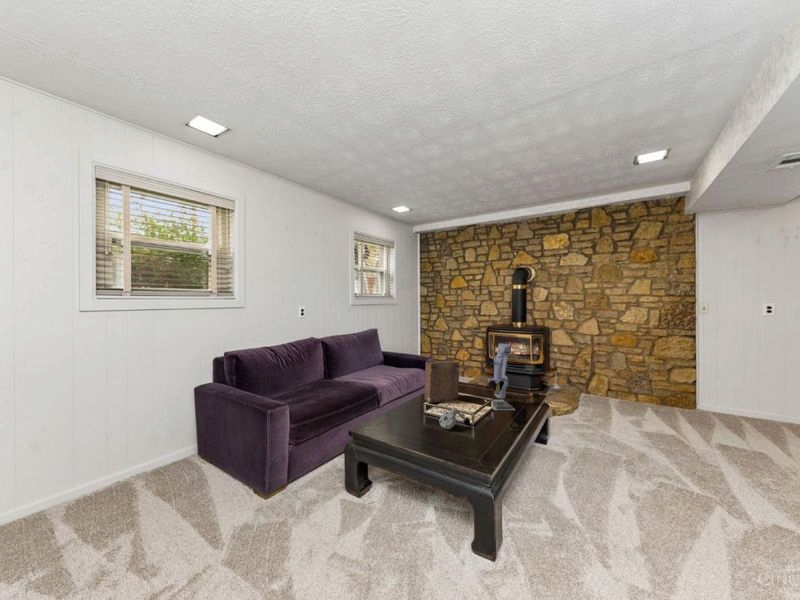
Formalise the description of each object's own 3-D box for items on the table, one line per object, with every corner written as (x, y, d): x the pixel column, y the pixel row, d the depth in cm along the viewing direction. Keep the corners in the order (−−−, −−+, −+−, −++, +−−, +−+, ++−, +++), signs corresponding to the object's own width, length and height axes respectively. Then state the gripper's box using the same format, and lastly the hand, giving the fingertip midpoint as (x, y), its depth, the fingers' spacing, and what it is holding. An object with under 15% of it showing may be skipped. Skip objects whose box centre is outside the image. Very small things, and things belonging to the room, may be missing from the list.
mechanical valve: (435, 421, 211) (450, 402, 215) (451, 435, 219) (465, 416, 222) (444, 429, 202) (459, 408, 205) (461, 443, 210) (475, 423, 213)
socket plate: (483, 400, 263) (483, 397, 263) (503, 400, 265) (503, 397, 265) (494, 411, 241) (494, 407, 241) (515, 411, 243) (515, 407, 243)
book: (451, 396, 271) (453, 359, 270) (458, 399, 263) (459, 361, 262) (424, 399, 261) (425, 361, 260) (429, 403, 252) (431, 363, 251)
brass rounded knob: (493, 392, 259) (494, 382, 259) (498, 392, 259) (499, 382, 259) (495, 394, 255) (496, 384, 255) (500, 394, 255) (501, 384, 255)
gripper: (490, 374, 252) (489, 392, 252) (509, 374, 254) (508, 392, 254) (487, 372, 259) (486, 389, 259) (505, 372, 261) (504, 389, 261)
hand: (497, 390), depth 257 cm, fingers closed on brass rounded knob, 4 cm apart
